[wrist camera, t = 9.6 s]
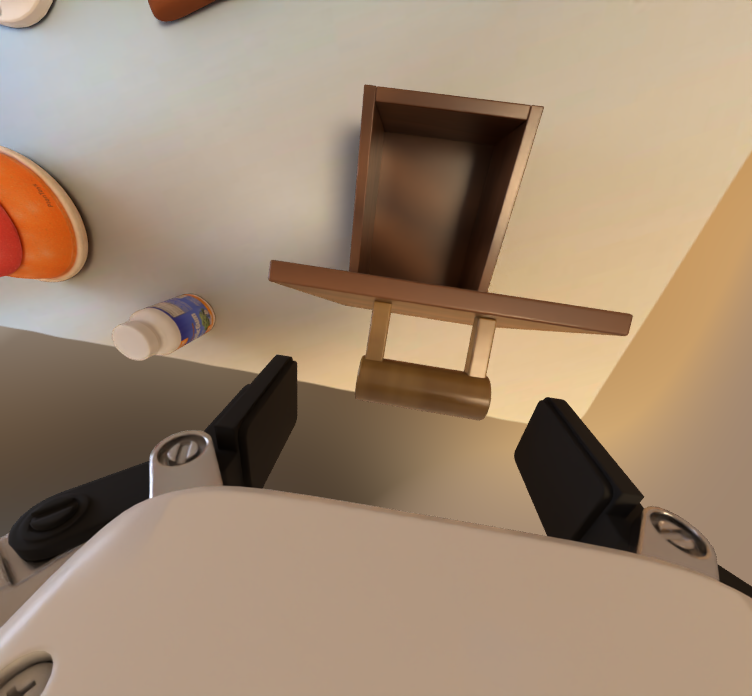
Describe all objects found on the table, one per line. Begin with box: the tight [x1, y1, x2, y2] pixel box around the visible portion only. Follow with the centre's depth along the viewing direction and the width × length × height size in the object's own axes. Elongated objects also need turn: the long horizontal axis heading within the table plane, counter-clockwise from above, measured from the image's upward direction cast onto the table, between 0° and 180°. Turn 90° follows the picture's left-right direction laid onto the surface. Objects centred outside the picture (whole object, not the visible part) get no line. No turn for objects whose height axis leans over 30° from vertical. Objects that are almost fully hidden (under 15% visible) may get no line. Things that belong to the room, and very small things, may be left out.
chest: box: [349, 85, 544, 292], centre depth 25 cm, size 15×12×9 cm
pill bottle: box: [112, 294, 215, 360], centre depth 33 cm, size 5×5×10 cm
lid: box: [268, 260, 633, 420], centre depth 17 cm, size 15×12×5 cm
